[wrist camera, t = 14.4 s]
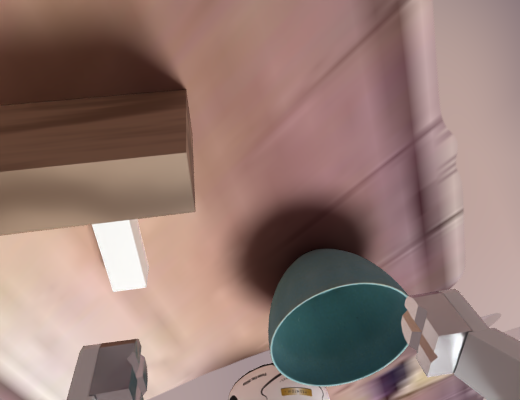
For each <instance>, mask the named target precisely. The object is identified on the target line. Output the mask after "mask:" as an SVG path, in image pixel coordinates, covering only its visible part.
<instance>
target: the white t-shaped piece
mask: <svg viewBox="0 0 520 400" xmlns="http://www.w3.org/2000/svg"><path fill="white" fill-rule="evenodd" d="M92 227H93V230H94V233H95V236H96V239H97V242H98V246H99V249H100V252H101V255H102V258H103V261H104V264H105V268H106V271H107V274H108V277H109V280H110V283H111V286H112V290H113V292H116V291H123V290H131V289H138V288H145V287H147V279H148V271H149V265H148V261H147V256H146V252H145V248H144V244H143V240H142V236H141V232H140V228H139V223H138V219H133V220H124V221H116V222H108V223H100V224H92Z"/></svg>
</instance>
